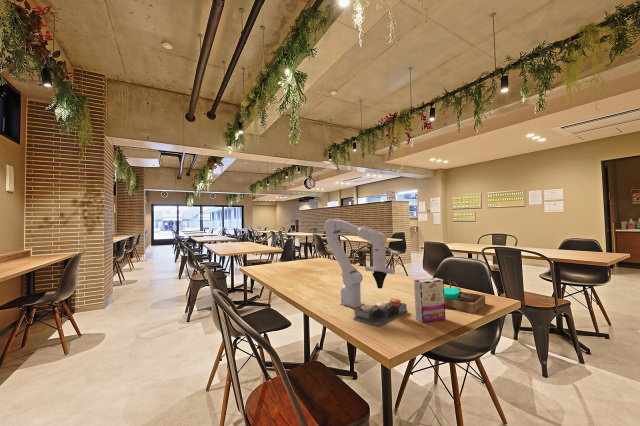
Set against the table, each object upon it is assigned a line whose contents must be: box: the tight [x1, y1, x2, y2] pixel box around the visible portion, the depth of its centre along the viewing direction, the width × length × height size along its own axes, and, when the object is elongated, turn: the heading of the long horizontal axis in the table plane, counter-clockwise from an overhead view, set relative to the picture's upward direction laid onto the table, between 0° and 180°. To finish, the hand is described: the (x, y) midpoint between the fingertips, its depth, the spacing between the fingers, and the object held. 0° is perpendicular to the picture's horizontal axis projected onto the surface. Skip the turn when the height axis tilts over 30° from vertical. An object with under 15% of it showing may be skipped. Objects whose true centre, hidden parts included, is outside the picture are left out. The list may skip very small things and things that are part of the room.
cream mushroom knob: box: [360, 304, 373, 312], centre depth 115 cm, size 5×5×4 cm
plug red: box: [389, 298, 402, 306], centre depth 121 cm, size 5×5×4 cm
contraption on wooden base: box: [444, 278, 471, 311], centre depth 131 cm, size 14×18×15 cm
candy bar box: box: [413, 277, 446, 324], centre depth 112 cm, size 11×5×16 cm, turn 105°
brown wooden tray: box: [444, 291, 486, 314], centre depth 131 cm, size 22×18×4 cm
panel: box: [353, 301, 408, 328], centre depth 118 cm, size 13×24×4 cm, turn 137°
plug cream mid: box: [375, 301, 387, 309], centre depth 118 cm, size 5×5×4 cm
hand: (380, 288), depth 125 cm, fingers closed
